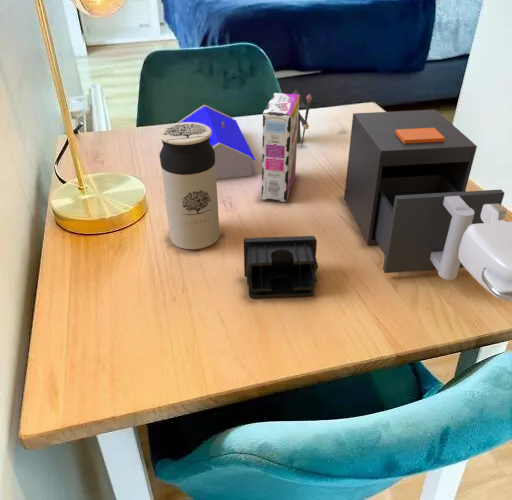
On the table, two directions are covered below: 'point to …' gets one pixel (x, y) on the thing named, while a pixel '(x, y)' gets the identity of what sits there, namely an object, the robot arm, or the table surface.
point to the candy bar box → (279, 146)
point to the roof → (225, 142)
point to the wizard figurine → (300, 118)
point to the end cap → (280, 266)
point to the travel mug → (190, 184)
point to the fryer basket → (426, 222)
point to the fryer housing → (401, 157)
